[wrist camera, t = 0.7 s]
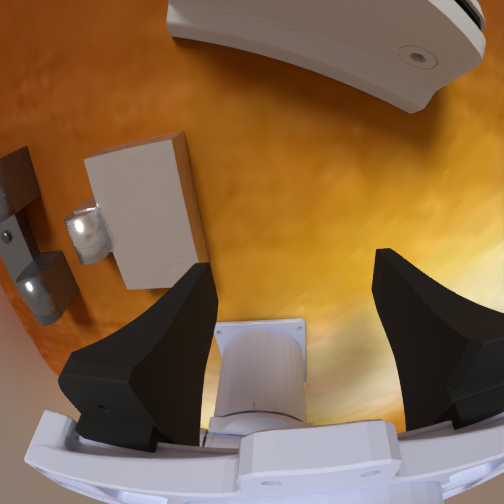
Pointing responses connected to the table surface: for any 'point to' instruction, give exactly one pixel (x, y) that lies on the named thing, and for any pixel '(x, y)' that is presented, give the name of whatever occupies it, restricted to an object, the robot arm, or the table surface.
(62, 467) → the robot arm
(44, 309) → the fixed leaf
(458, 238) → the table surface
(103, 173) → the grey boxy piece
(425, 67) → the grey rounded slab
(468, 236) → the table surface
